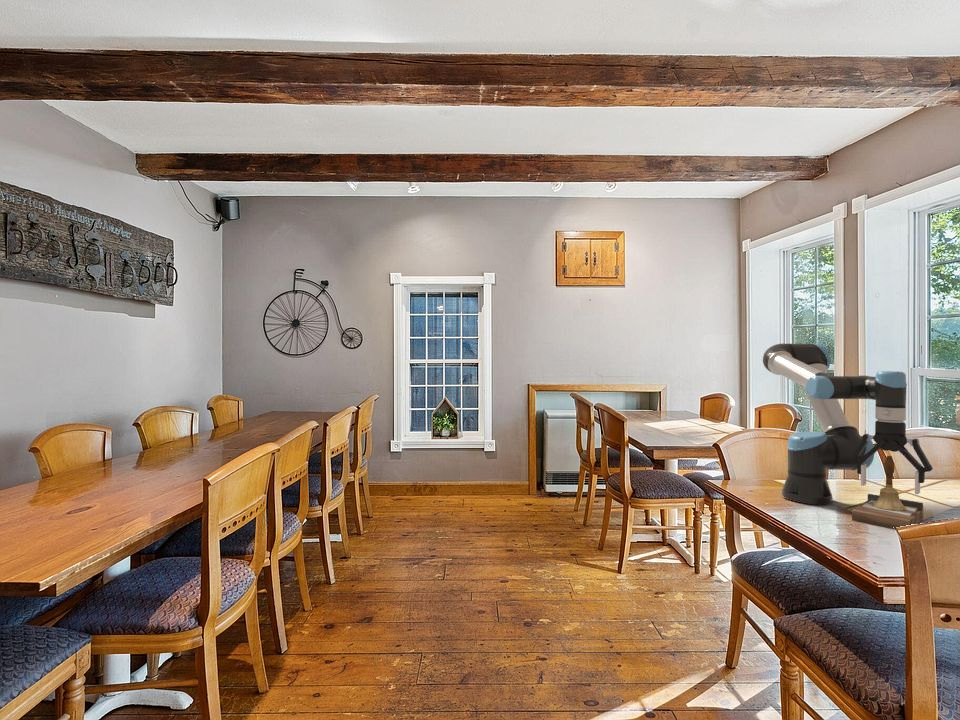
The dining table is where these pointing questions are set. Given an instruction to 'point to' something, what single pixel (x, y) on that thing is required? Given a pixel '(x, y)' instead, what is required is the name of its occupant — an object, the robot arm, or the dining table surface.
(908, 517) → the brown wooden display stand
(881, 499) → the hand bell
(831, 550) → the dining table surface
